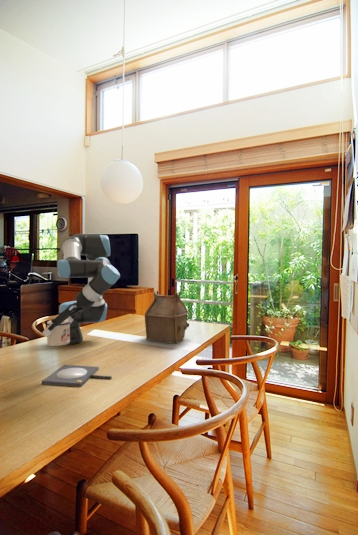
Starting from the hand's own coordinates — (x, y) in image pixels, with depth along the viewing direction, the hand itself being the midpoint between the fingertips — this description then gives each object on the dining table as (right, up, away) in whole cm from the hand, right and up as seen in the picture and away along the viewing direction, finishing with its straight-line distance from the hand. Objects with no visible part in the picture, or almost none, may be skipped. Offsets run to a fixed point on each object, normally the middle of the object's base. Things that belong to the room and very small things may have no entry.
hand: (53, 331), depth 125 cm
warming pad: (+13, -19, -1) cm, 22 cm away
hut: (+45, -18, +61) cm, 77 cm away
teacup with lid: (+3, -5, 0) cm, 6 cm away
